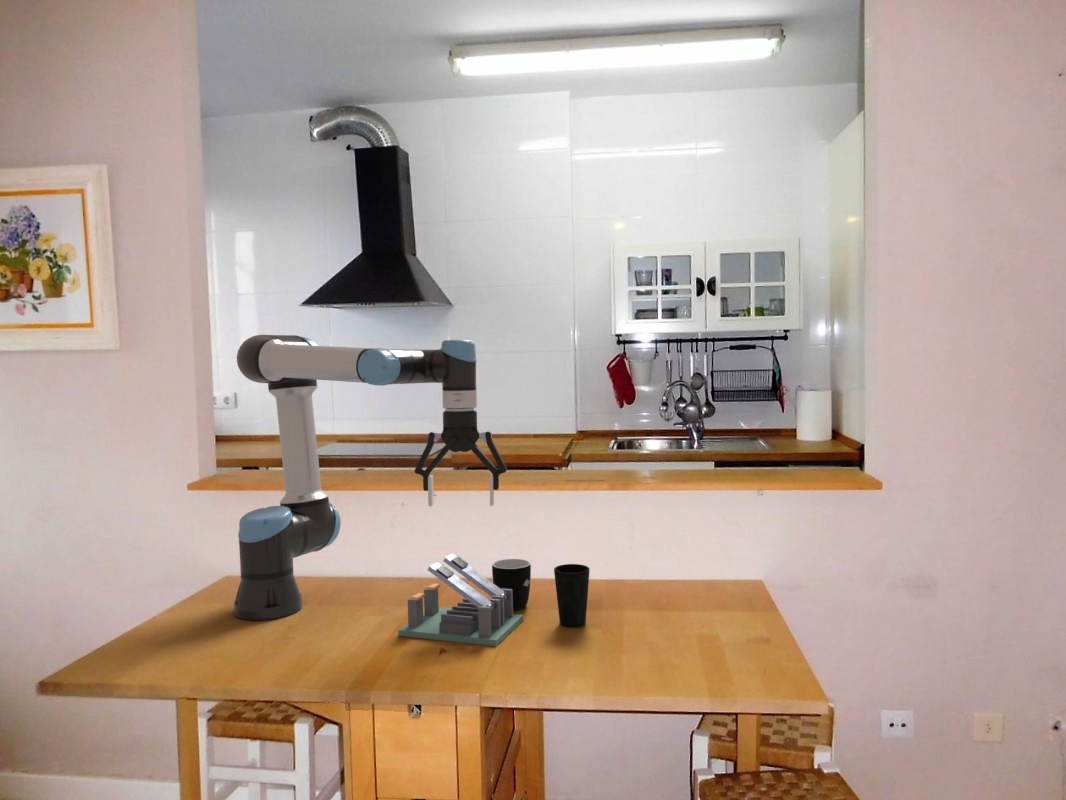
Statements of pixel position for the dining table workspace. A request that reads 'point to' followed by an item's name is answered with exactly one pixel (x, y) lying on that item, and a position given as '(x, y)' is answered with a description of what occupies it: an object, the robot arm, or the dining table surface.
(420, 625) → the socket board
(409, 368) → the robot arm
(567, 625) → the cup
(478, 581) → the strap far
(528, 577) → the mug
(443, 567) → the strap near
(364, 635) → the dining table surface
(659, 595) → the dining table surface
